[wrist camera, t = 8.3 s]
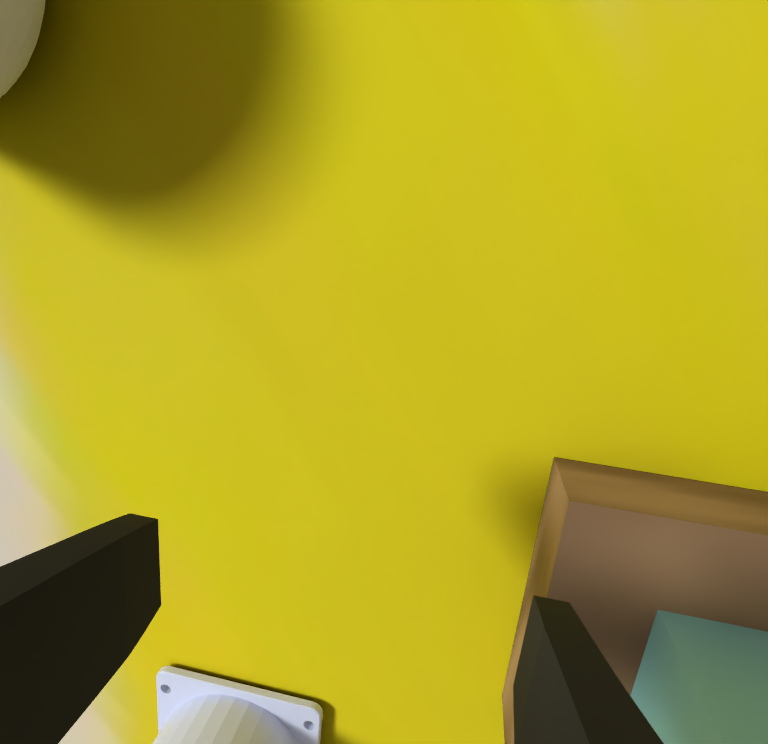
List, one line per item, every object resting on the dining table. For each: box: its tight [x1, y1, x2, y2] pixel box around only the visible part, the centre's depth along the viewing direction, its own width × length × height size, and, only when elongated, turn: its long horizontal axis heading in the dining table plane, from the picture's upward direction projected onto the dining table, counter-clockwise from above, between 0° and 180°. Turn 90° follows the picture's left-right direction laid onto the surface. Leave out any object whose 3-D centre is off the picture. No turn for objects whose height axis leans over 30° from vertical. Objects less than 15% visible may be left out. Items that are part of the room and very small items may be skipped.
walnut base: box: [502, 457, 768, 744], centre depth 17 cm, size 11×11×3 cm
